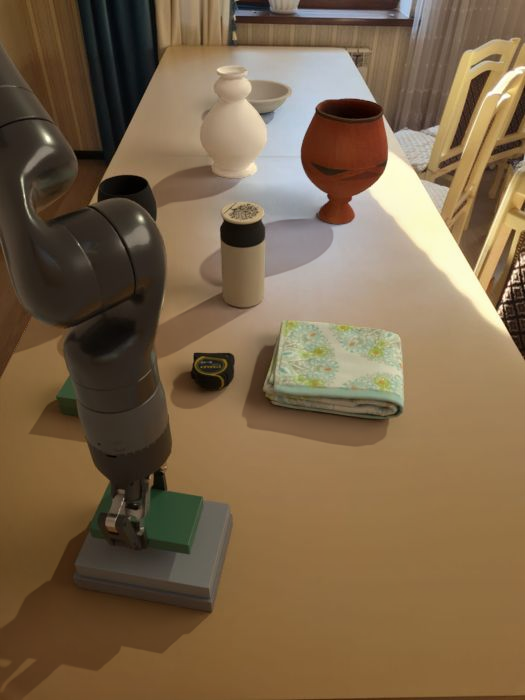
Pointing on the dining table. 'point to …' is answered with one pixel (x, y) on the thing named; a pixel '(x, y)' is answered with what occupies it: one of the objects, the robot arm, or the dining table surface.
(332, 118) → the goblet
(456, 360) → the dining table surface
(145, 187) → the wine glass
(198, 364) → the tape measure
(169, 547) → the green book
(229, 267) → the travel mug
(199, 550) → the grey books
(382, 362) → the towel
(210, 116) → the decorative vase
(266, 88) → the soup bowl
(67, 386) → the green books
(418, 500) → the dining table surface
